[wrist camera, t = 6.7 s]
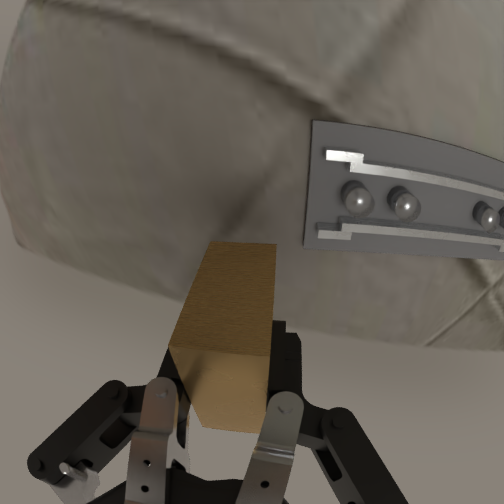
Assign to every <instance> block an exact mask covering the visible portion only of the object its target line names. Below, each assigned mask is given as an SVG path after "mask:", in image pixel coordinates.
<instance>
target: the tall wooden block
mask: <svg viewBox="0 0 504 504" xmlns="http://www.w3.org/2000/svg"><path fill="white" fill-rule="evenodd" d="M276 245H277V244H259V243H236V242H213V241H211V242H210V244H209V246H208V249H207V251H206V253H205V255H204V258H203V260H202V262H201V265H200V267H199V270H198V272H197V274H196V277H195V279H194V281H193V284H192V286H191V289H190V291H189V294H188V296H187V298H186V301H185V303H184V306H183V309H182V311H181V313H180V316H179V319H178V321H177V324H176V326H175V329H174V331H173V334H172V336H171V339H170V342H169V344H168V347H169V350H170V353H171V355H172V358H173V360H174V363H175V365H176V368H177V370H178V373H179V375H180V378H181V380H182V383H183V385H184V387H185V390H186V392H187V394H188V396H189V399H190V401H191V403H192V405H193V407H194V410H195V412H196V414H197V416H198V418H199V420H200V422H201V424H202V426H203V427H206V428H213V429H220V430H228V431H237V432H247V433H259V434H260V431H261V428H262V424H263V421H264V417H265V412H266V400H267V388H268V376H269V363H270V349H271V334H272V319H273V303H274V285H275V266H276Z"/></svg>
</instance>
